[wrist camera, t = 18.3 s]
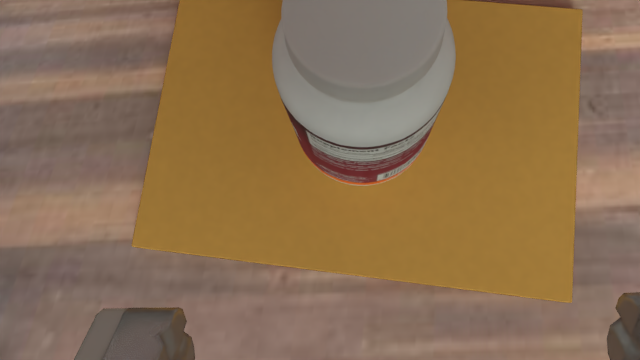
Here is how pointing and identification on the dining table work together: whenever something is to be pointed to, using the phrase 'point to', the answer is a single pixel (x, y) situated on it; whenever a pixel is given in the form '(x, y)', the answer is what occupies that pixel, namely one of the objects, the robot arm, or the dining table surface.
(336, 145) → the pill bottle
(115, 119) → the dining table surface
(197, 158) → the amber mat
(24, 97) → the dining table surface
